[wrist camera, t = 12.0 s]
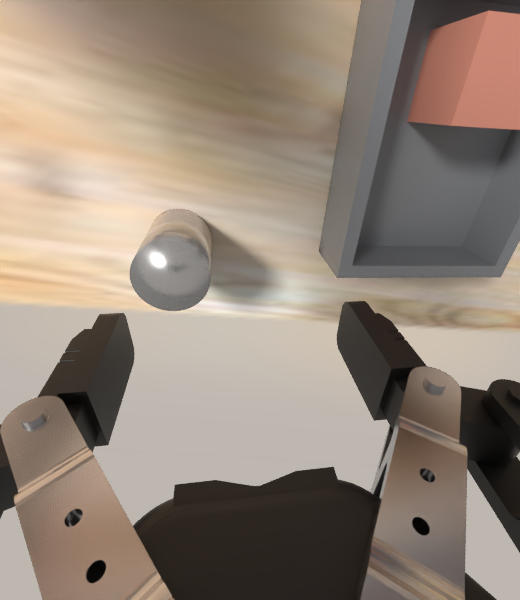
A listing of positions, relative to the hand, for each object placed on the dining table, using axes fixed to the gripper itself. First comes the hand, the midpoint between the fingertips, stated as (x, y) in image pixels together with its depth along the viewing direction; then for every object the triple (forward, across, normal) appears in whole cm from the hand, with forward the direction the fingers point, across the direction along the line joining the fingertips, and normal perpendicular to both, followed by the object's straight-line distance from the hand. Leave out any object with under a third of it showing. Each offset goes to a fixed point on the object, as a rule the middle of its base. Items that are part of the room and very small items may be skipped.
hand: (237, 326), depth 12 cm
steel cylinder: (+16, +4, +3) cm, 17 cm away
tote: (+16, -16, -5) cm, 23 cm away
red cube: (+15, -16, -8) cm, 23 cm away
